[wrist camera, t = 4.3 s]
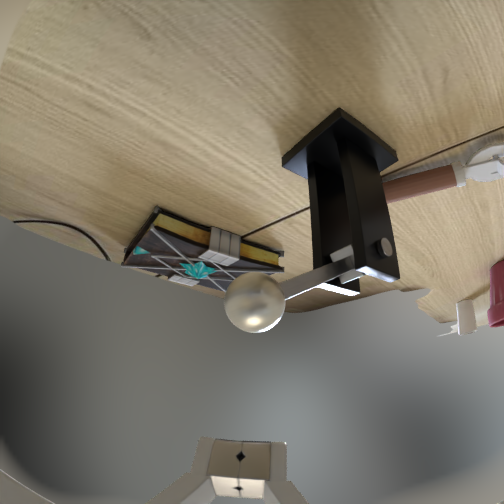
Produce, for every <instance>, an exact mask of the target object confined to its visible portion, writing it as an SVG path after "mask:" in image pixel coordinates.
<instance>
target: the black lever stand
mask: <svg viewBox="0 0 504 504" xmlns="http://www.w3.org/2000/svg"><path fill="white" fill-rule="evenodd" d="M397 161H398V157H397V154H396V151H394V150H393V149H392V148H391V147H390V146H388V145H387V144H386V143H385V142H384V141H382V140H381V139H380V138H379V137H378V136H376V135H375V134H374V133H372V132H371V131H370V130H369V129H367V128H366V127H365V126H364V125H362V124H361V123H360V122H358V121H357V120H356V119H354V118H353V117H352V116H350V115H349V114H347V113H346V112H345V111H343V110H342V109H340V108H338V109H337V110H336V111H334V112H333V113H332V114H331V115H330V116H329V117H327V118H326V119H325V120H324V121H323V122H322V123H320V124H319V125H318V126H317V127H316V128H315V129H314V130H312V131H311V132H310V133H309V134H308V135H307V136H306V137H304V138H303V139H302V140H301V141H300V142H299V143H298V144H297V145H295V146H294V147H293V148H292V149H291V150H290V151H289V152H288V153H286V154H285V155H284V156H283V157H282V167H284V168H286V169H288V170H290V171H292V172H294V173H296V174H298V175H300V176H302V177H304V178H306V179H308V185H309V199H310V213H311V229H312V248H313V270H314V269H317V268H320V267H322V266H325V265H327V264H330V263H332V259H331V257H330V254H331V253H333V252H335V251H338V250H340V249H342V248H344V247H346V246H348V245H350V244H352V245H353V254H354V264H355V270H356V271H359V272H362V273H365V274H368V275H371V276H373V277H376V278H379V279H382V280H385V281H388V282H393V281H396V280H398V279H400V273H399V266H398V260H397V253H396V247H395V242H394V236H393V231H392V225H391V220H390V216H389V211H388V206H387V202H386V197H385V193H384V189H383V185H382V181H381V177H380V172H381V171H383V170H384V169H386V168H387V167H389V166H391V165H392V164H394V163H395V162H397ZM316 287H319V288H323V289H327V290H331V291H335V292H339V293H343V294H347V295H351V296H352V295H355V294H358V293H360V284H359V278H356V279H354V280H351V281H348V282H345V283H343V284H341V282H340V279H339V276H338V277H336V278H334V279H331V280H329V281H327V282H325V283H323V284H321V285H318V286H316Z"/></svg>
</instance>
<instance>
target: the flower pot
mask: <svg viewBox="0 0 504 504" xmlns="http://www.w3.org/2000/svg"><path fill="white" fill-rule="evenodd" d="M487 313H488V321H489V326H490V327H499V326H504V260H502V261H500V262H498V263H496V264H495V265H494V266H492V268H491V269H490V309H489V310H488V311H487Z"/></svg>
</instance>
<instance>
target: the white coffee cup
mask: <svg viewBox="0 0 504 504" xmlns="http://www.w3.org/2000/svg"><path fill="white" fill-rule="evenodd" d="M456 305H457V317H458V333H459V335H465V334H469V333H473V332H476V331H477V325H476V319H475V313H474V307H473V302H472V299H468V300H463V301H460V302H458V303H457V304H456Z"/></svg>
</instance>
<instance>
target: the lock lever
mask: <svg viewBox="0 0 504 504" xmlns="http://www.w3.org/2000/svg"><path fill="white" fill-rule="evenodd" d="M330 257H331V259H332V263H330V264H327V265H325V266H322V267H320V268H317V269H314V270H312V271H309V272H307V273H304V274H301V275H299V276H296V277H293V278H291V279H288V280H286V281H283V282H280V283H278V282H277V281H276V280H275V279H274V278H272V277H271V276H269V275H267V274H265V273H261V272H249V273H245V274H242V275H240V276H239V277H237V278H236V279H234V280H233V281H232V282H231V284H230V285H229V287H228V289H227V291H226V293H225V297H224V307H225V311H226V314H227V316H228V318H229V319H230V321H231V322H232V323H233V324H234V325H235V326H236V327H238V328H240V329H241V330H244V331H246V332H252V333H257V332H263V331H266V330H268V329H270V328H272V327H273V326H274V325H276V324H277V322H278V321H279V320H280V319H281V317H282V315H283V312H284V309H285V300H287V299H289V298H291V297H294V296H296V295H298V294H300V293H303V292H305V291H307V290H309V289H312V288H314V287H316V286H318V285H321V284H323V283H325V282H327V281H329V280H331V279H334V278H336V277H338V276H339V279H340V282H341V284H343V283H345V282H348V281H351V280H354V279H356V278H359V277H362V276H364V275H366V274H365V273H362V272H359V271H356V270H355V264H354V254H353V245H352V244H350V245H348V246H346V247H344V248H342V249H340V250H338V251H335V252H333V253H331V254H330Z"/></svg>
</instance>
